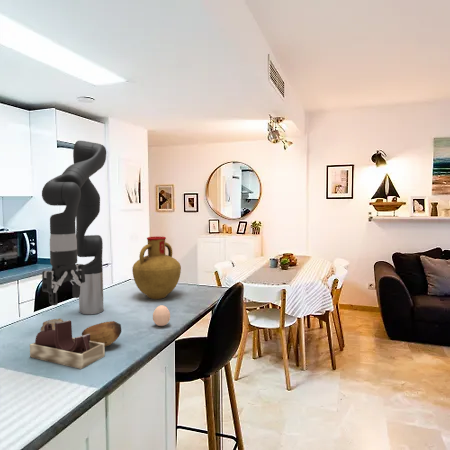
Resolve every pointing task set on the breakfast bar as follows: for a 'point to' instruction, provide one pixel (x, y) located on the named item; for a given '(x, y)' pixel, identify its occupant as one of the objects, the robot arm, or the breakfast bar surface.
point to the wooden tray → (68, 355)
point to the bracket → (62, 338)
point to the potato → (104, 332)
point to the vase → (156, 269)
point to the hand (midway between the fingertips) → (65, 301)
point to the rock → (51, 323)
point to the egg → (161, 315)
